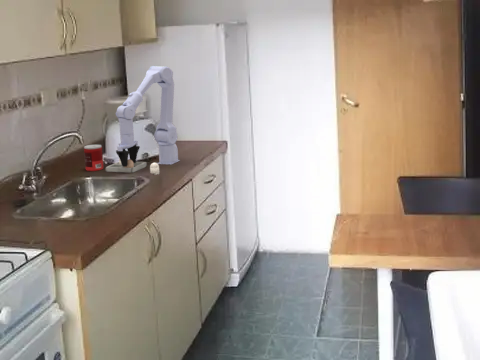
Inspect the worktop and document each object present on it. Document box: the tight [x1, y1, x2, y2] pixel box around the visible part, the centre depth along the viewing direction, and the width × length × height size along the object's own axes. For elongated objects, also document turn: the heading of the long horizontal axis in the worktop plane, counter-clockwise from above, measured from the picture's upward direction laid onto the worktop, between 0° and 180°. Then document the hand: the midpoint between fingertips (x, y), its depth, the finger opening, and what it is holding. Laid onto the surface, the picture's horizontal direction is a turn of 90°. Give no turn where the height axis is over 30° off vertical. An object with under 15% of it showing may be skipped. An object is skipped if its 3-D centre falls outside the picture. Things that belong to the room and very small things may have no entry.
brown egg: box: [125, 158, 134, 168], centre depth 294 cm, size 4×4×5 cm
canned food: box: [83, 144, 104, 172], centre depth 299 cm, size 8×8×11 cm
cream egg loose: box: [149, 162, 160, 176], centre depth 289 cm, size 4×4×5 cm
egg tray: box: [105, 161, 148, 174], centre depth 298 cm, size 13×13×2 cm
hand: (129, 164), depth 294 cm, fingers open, 7 cm apart
